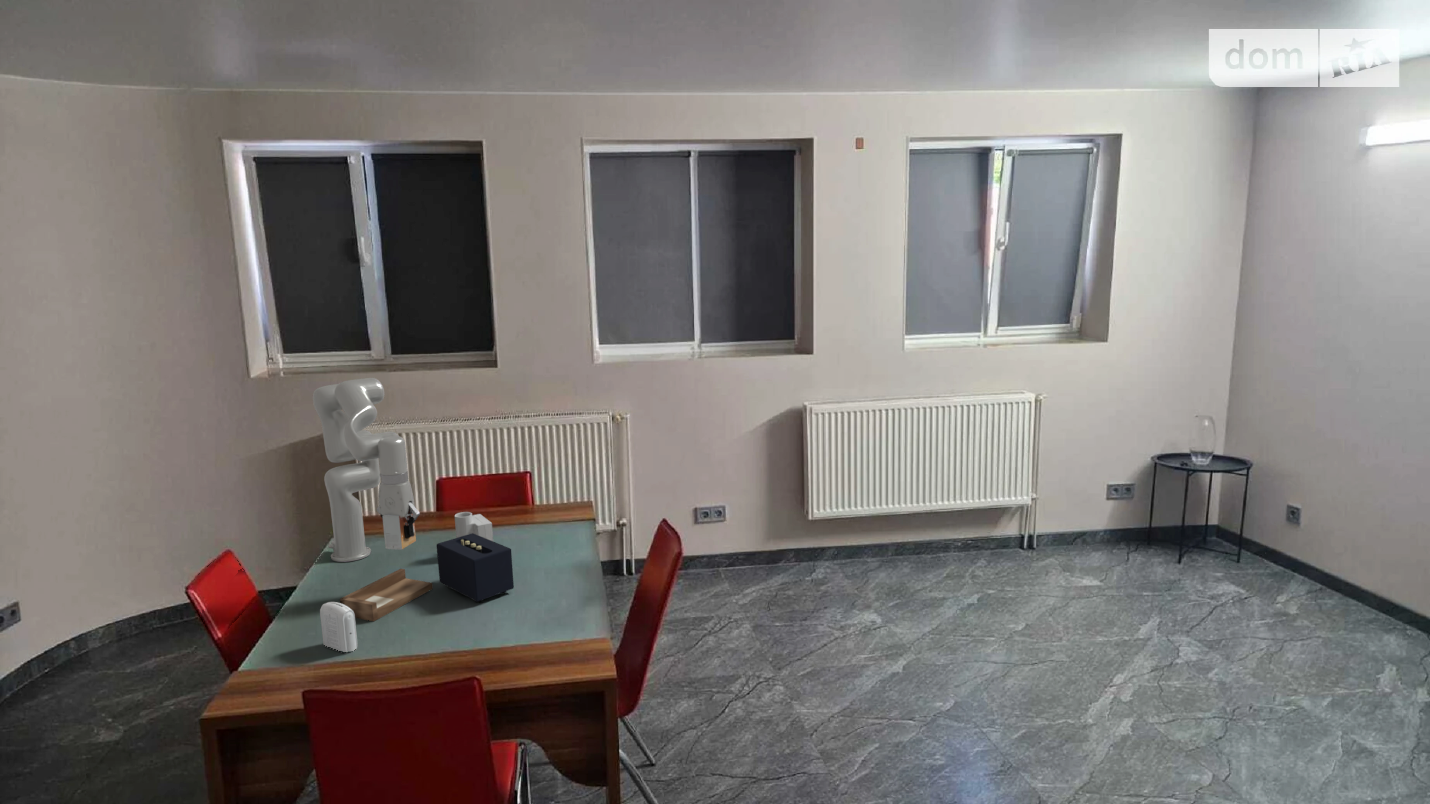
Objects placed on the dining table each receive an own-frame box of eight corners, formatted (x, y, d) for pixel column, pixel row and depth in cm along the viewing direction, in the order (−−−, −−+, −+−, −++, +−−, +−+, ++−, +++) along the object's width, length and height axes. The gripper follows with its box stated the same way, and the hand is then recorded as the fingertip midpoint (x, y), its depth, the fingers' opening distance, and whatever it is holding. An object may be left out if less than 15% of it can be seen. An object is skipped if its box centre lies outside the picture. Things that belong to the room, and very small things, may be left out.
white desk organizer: (494, 557, 280) (491, 514, 277) (452, 566, 272) (449, 523, 269) (482, 547, 290) (479, 506, 287) (441, 556, 282) (438, 513, 279)
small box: (402, 550, 245) (398, 516, 243) (385, 549, 246) (381, 515, 244) (416, 541, 253) (413, 507, 251) (400, 540, 254) (397, 507, 252)
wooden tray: (341, 615, 237) (339, 598, 236) (402, 583, 259) (400, 568, 258) (373, 621, 233) (372, 604, 232) (432, 588, 255) (431, 573, 254)
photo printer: (360, 648, 217) (356, 604, 215) (346, 655, 214) (341, 610, 211) (335, 640, 222) (330, 596, 220) (321, 646, 219) (315, 602, 216)
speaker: (514, 593, 250) (511, 545, 248) (477, 606, 241) (473, 558, 238) (476, 575, 265) (473, 530, 262) (439, 587, 256) (435, 541, 253)
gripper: (362, 478, 246) (368, 536, 249) (408, 484, 239) (414, 543, 242) (381, 472, 252) (387, 528, 256) (426, 477, 246) (431, 535, 249)
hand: (400, 535), depth 249 cm, fingers closed on small box, 6 cm apart
